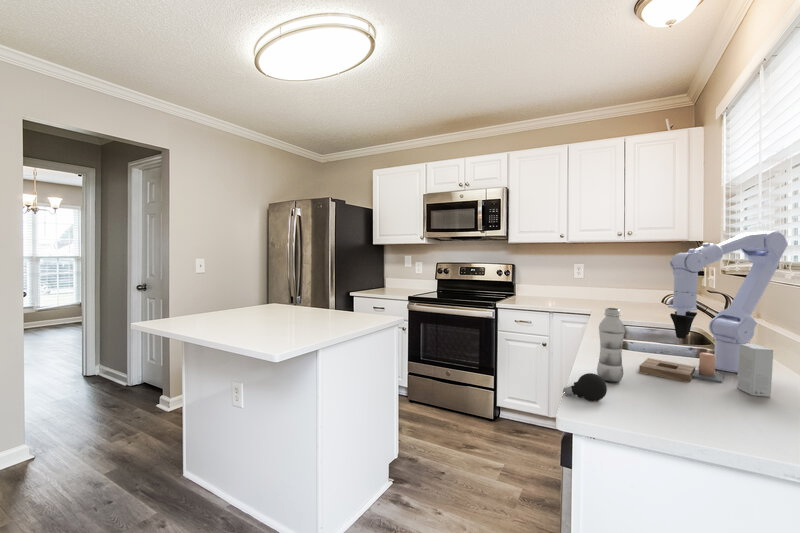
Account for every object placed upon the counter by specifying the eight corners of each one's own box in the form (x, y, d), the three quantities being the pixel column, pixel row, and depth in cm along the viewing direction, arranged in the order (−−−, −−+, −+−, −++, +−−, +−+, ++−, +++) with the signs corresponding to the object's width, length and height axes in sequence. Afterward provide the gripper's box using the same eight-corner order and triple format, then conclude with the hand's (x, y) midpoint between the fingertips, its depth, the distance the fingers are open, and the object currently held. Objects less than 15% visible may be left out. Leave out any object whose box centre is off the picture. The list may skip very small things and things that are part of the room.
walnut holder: (647, 364, 123) (648, 357, 123) (694, 372, 115) (695, 366, 115) (639, 372, 114) (639, 365, 114) (689, 382, 106) (689, 375, 106)
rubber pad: (693, 371, 117) (693, 369, 117) (723, 376, 112) (723, 374, 112) (689, 377, 111) (690, 375, 111) (721, 383, 106) (721, 381, 106)
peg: (699, 371, 114) (700, 351, 114) (714, 374, 112) (715, 354, 111) (698, 374, 111) (699, 354, 111) (714, 377, 109) (715, 356, 109)
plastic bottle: (625, 380, 106) (629, 308, 106) (619, 386, 102) (622, 311, 101) (600, 375, 111) (603, 306, 110) (593, 380, 106) (596, 308, 105)
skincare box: (771, 397, 96) (774, 350, 95) (751, 395, 97) (754, 348, 96) (754, 389, 102) (757, 344, 101) (736, 387, 103) (738, 343, 102)
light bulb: (558, 374, 98) (600, 365, 93) (567, 396, 98) (609, 389, 94) (557, 387, 92) (602, 379, 87) (567, 411, 92) (612, 404, 88)
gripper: (672, 289, 125) (670, 330, 126) (665, 292, 114) (663, 337, 115) (700, 291, 120) (697, 334, 121) (695, 294, 110) (692, 341, 110)
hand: (682, 336), depth 118 cm, fingers open, 7 cm apart
